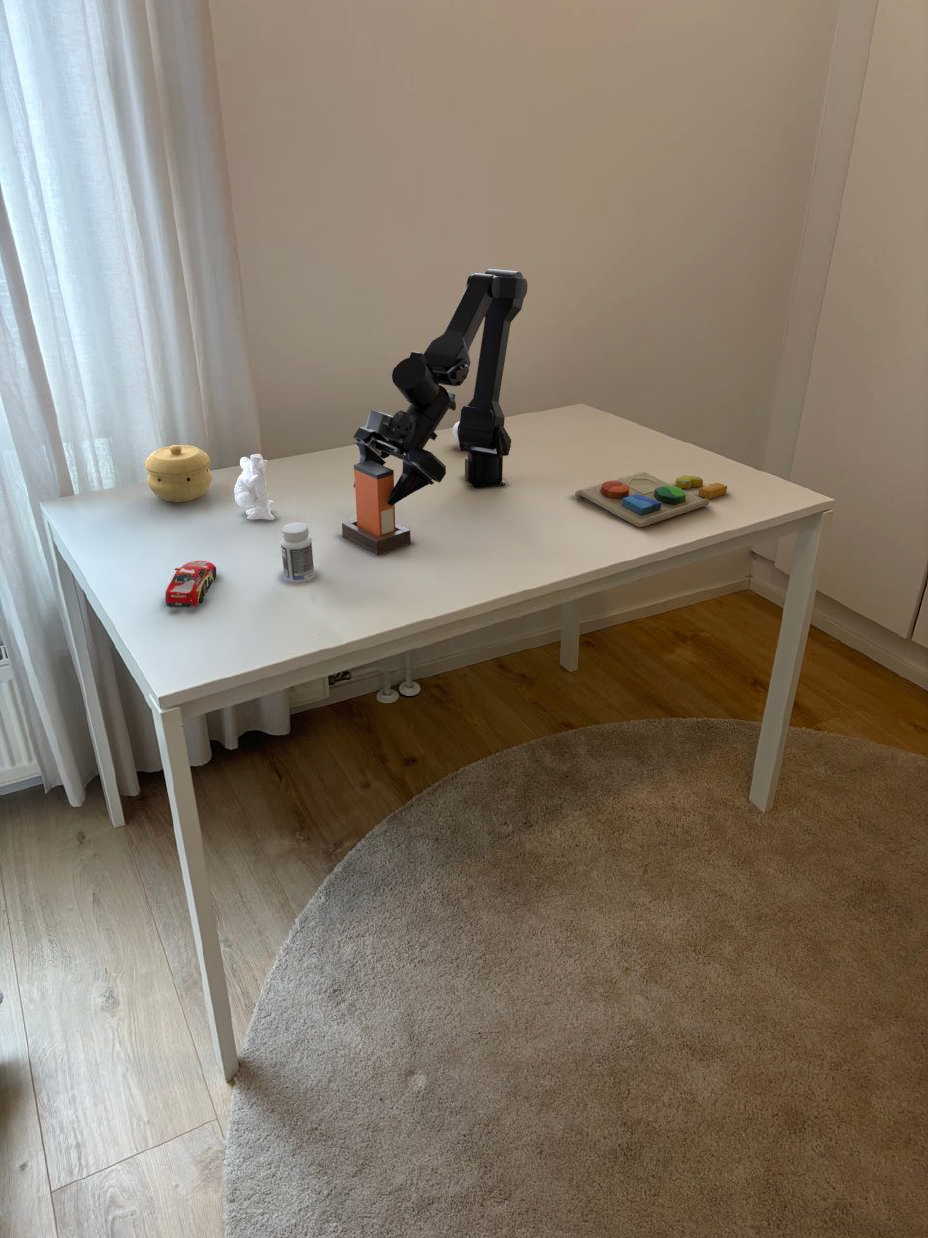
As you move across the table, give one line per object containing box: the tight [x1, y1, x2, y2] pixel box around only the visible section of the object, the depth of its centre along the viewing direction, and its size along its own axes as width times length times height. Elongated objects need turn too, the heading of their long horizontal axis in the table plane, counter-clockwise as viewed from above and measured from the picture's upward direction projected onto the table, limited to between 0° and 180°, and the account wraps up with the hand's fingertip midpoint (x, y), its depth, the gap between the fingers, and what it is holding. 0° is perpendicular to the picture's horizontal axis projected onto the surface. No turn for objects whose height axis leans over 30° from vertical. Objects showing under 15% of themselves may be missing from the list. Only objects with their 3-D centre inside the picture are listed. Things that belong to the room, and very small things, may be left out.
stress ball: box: [452, 420, 460, 450], centre depth 204 cm, size 8×8×7 cm
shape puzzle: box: [574, 471, 728, 528], centre depth 179 cm, size 25×19×3 cm
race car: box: [164, 560, 217, 608], centre depth 145 cm, size 13×5×4 cm, turn 177°
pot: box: [144, 444, 213, 503], centre depth 177 cm, size 12×12×10 cm
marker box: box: [353, 460, 396, 538], centre depth 160 cm, size 3×6×12 cm, turn 41°
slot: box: [341, 517, 412, 556], centre depth 162 cm, size 7×10×2 cm
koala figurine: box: [233, 453, 275, 521], centre depth 169 cm, size 8×7×12 cm
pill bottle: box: [280, 522, 315, 583], centre depth 149 cm, size 5×5×8 cm
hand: (371, 496), depth 159 cm, fingers open, 9 cm apart
